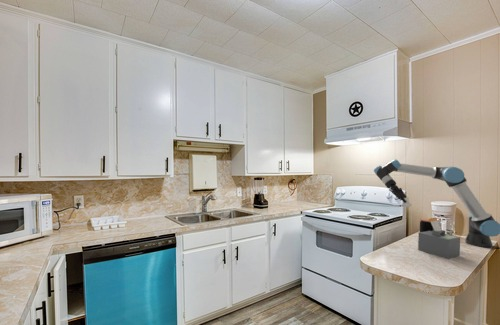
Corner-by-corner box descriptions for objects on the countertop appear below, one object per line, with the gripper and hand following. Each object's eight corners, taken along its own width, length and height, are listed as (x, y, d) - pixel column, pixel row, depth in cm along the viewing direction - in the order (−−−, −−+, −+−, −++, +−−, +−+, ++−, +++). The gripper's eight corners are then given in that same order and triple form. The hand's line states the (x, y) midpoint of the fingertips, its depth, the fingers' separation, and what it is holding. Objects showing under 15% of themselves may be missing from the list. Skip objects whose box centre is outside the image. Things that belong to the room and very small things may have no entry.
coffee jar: (440, 245, 180) (440, 221, 180) (425, 245, 180) (426, 221, 180) (429, 241, 190) (430, 218, 191) (416, 240, 191) (416, 217, 191)
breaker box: (429, 247, 175) (429, 226, 176) (459, 255, 159) (460, 233, 159) (418, 249, 169) (418, 228, 169) (448, 259, 153) (449, 235, 153)
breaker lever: (439, 233, 166) (432, 218, 170) (443, 233, 164) (436, 217, 168) (435, 234, 164) (428, 218, 168) (439, 234, 162) (431, 218, 166)
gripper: (390, 184, 202) (411, 208, 187) (380, 185, 196) (400, 209, 181) (397, 179, 197) (418, 202, 182) (387, 178, 191) (408, 203, 176)
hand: (409, 205), depth 181 cm, fingers closed
